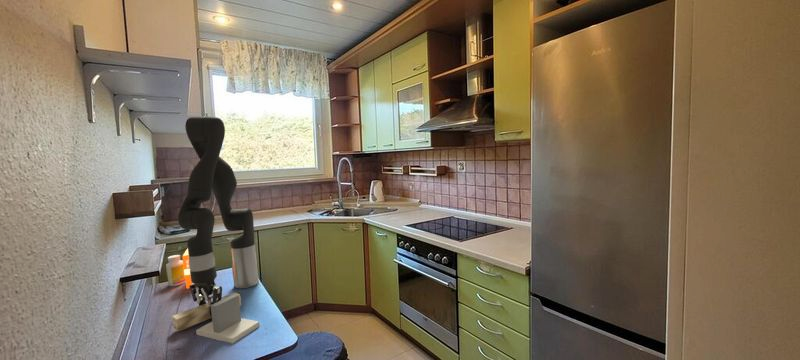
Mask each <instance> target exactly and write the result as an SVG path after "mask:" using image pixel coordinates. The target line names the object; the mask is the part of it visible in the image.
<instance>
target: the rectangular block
mask: <svg viewBox="0 0 800 360" xmlns="http://www.w3.org/2000/svg"><path fill="white" fill-rule="evenodd" d="M233 294H234V295H238V296H239V305H240V306H242V300H241V299H242V298H241V294H239V293H237V292H236V291H235V292H232V293H229V294H226V295H224V296H222V299H221V300H223V299H225V298H227V297H229V296H231V295H233ZM217 300H218V298H217ZM210 319H212V316H210V309H209V303H208V302H206V303H205V304H203V305H200V306H199V305H197V306H195V307H193V308H190V309H187V310H185V311H181V312H180V313H177V314H174V315H172V322H173V329H175V330H176V332H180V331H183V330H185V329H188V328H190V327H192V326H195V325H197V324H200V323H202V322H205V321H207V320H210Z"/></svg>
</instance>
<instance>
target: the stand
mask: <svg viewBox="0 0 800 360" xmlns="http://www.w3.org/2000/svg"><path fill="white" fill-rule="evenodd" d="M211 313H212V318H211V320H212V321H211V322H210V321H209V322H208V323H207V324H205V325H202V326H201V327H200V328H198V329H195V331H196V335H197V336H200V337H201V336H202V337H205V338H209V339H213V340H216V341H221V342H225V343H227V344H232V345H233V344H235V343H236V342H238V341H239V340H240V339H242V338H243V337H246V336H247V335H248V334H250V333H251V332H253V331H254V330H256V329H257V328H258V327H260V321H257V320H253V319H252V320H251V319H248V318H242V317H241V316H242V313H241V307H240V305H239V296H238V295H234V294H233V295H231V296H229V297H227V298H225V299H223V300H221V301H219V302H216V303H214V304H212V305H211Z"/></svg>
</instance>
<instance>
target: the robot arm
mask: <svg viewBox="0 0 800 360" xmlns="http://www.w3.org/2000/svg"><path fill="white" fill-rule="evenodd" d="M184 127H185V131H186V132H185V133H186V135H187V138H188V140H189V142H190V144H191V146H192V147H193V150H194V152H195V153H196V156H197V157H198V159H199V161H198V162H197V163H196V164H195V166H194V168H193V169H192V170H191V173H190V175H189V178H188V183H187V193H186V197H184V200H183V202H182V204H181V207H180V209H179V212H178V214H177V222H178V225H179V226H180V228H182V229H183V230H186V231H187V230H189V231H190V230H196V234H195V235H193V236H192V237H189V238H188V239H187V242H186V244H187V245H186V246H187V248H188V254H189V269H190V276H191V282H192V283H194V284H192V285H189V288H188V289H189V290H190V294H191V297H192V301H193V302H196V304H197V305H198V306H200V305H203V304H205V303H209V309H210V316H212V313H211V305H212V304H214V303H216V302H219V301H221V299H222V297H223V296H222V295H223V287H222V286H221V285H220V286H217V285H216V282H215V280H216V279H217V276H218V275H217V274H218V273H217V267H216V257H215V254H214V249H213V242H212V239H213V233H214V227H215V215H214V213H213V211H212V210H211V209H210V208H207V207H201V205H202V204H203V203H205V202H208V201H210V200H211V198H212V193H213V195H214V198H215V200H216V203H217V205H218V208H219V212H220V216H221V220H222V223H223V225H224V228H225V229H226V230H227V231H228V232H238V231H239V232H241V231H242V234H241V236H239V237H237V238H234V239H232V240H231V241H230V250H231V257H232V264H231V269H232V278H233V286H234V287H235V288H237V289H247V288H248V289H249V288H252V287H254V286H256V285H258V284H259V282H260V280H259V271H258V270H259V269H258V262H257V252H256V245H255V244H256V243H255V229H254V227H255V226H254V216H253V215H254V214H253V211H252V209H250V208H234V209H233V208H232V206H231V201H232V198H233V196H234V194H235V192H236V189H237V186H238V181H237V178H236V175H235V171H234V170H233V168H232V167H231V165H229V163H228V162H227V161H225V159H223V158H222V157H221V156H220V154H221V151H222V147H223V143H224V140H225V133H226V128H225V123H224V122H223V120H222V119H221V118H220V117H219V116H218V117H217V116H192V117H188V118H187V119H186V121H185V126H184ZM217 299H218V300H217Z"/></svg>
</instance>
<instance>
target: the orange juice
mask: <svg viewBox="0 0 800 360" xmlns="http://www.w3.org/2000/svg"><path fill="white" fill-rule="evenodd" d="M181 258H182V261H183V266H184V275H185V281H186V282H185V288H186V290H187V289H190V288H189V285H192V284H194V283H192V282H191V276H190V269H189V254H188V247H187V249H186V250H185V252H184V253H183V255H182V256H181Z"/></svg>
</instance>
